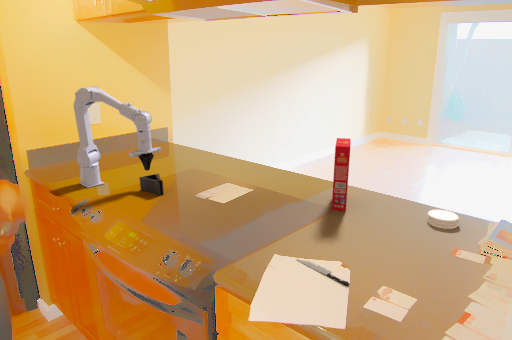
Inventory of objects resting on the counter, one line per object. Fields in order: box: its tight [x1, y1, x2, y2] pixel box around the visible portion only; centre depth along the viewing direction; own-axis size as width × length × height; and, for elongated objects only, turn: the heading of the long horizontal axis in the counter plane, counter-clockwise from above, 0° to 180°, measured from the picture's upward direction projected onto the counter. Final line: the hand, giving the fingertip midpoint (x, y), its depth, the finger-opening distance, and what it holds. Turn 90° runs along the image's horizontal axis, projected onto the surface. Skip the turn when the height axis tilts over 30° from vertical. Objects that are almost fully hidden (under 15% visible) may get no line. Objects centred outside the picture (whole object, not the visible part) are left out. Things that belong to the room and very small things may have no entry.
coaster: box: [426, 209, 460, 230], centre depth 131 cm, size 10×10×4 cm
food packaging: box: [331, 137, 352, 212], centre depth 146 cm, size 15×5×25 cm, turn 166°
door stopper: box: [139, 173, 165, 197], centre depth 162 cm, size 9×6×12 cm
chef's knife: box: [296, 259, 350, 287], centre depth 103 cm, size 19×1×3 cm
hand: (147, 170), depth 167 cm, fingers closed
